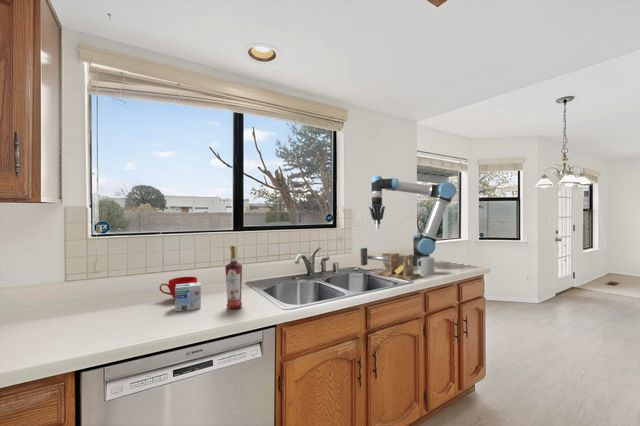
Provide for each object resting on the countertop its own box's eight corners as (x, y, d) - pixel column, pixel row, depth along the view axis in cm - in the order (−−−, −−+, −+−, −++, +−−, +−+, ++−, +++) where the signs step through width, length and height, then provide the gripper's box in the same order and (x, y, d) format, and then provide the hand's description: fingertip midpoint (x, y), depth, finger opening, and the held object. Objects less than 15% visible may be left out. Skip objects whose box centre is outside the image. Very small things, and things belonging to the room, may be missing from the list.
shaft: (396, 268, 199) (396, 250, 198) (392, 269, 194) (392, 251, 194) (365, 264, 216) (365, 247, 216) (360, 265, 211) (360, 248, 211)
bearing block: (420, 276, 191) (420, 254, 191) (410, 280, 181) (410, 257, 181) (385, 271, 209) (385, 251, 209) (374, 274, 199) (373, 253, 199)
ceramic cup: (160, 298, 150) (160, 279, 150) (197, 294, 157) (196, 275, 157) (158, 306, 139) (158, 284, 139) (198, 301, 146) (197, 280, 145)
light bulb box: (175, 312, 130) (174, 287, 130) (175, 307, 136) (175, 284, 136) (201, 308, 134) (201, 284, 134) (200, 304, 140) (200, 281, 140)
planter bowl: (409, 270, 213) (409, 254, 213) (394, 273, 204) (393, 257, 204) (392, 266, 226) (392, 252, 226) (377, 269, 217) (376, 254, 217)
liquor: (244, 304, 139) (243, 244, 138) (240, 310, 131) (239, 246, 131) (228, 305, 138) (227, 244, 138) (223, 310, 131) (222, 246, 131)
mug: (436, 274, 199) (436, 257, 199) (429, 275, 193) (429, 258, 193) (421, 271, 208) (420, 255, 208) (413, 273, 203) (413, 256, 203)
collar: (402, 272, 196) (409, 266, 193) (397, 274, 191) (404, 268, 188) (399, 269, 198) (406, 263, 194) (394, 270, 193) (401, 264, 189)
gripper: (366, 197, 223) (367, 229, 223) (381, 196, 214) (382, 229, 215) (372, 197, 229) (372, 228, 229) (387, 196, 220) (388, 228, 220)
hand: (377, 228), depth 222 cm, fingers closed
